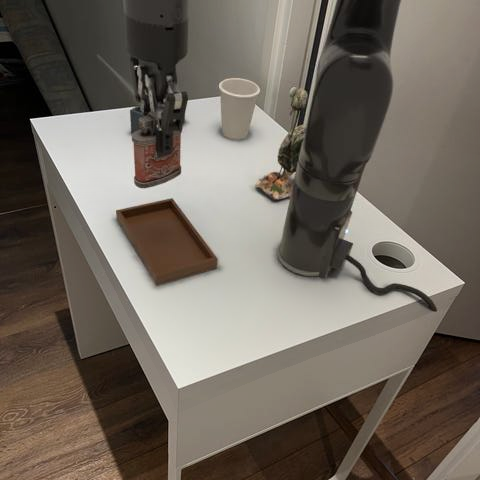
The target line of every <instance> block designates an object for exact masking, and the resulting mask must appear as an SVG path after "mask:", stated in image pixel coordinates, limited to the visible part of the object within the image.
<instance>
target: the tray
mask: <svg viewBox="0 0 480 480" xmlns="http://www.w3.org/2000/svg"><path fill="white" fill-rule="evenodd" d="M115 217H116V218H115V219H116V221H117V223H118V225H119V226H120V228H121V230H122V231H123V233H124V234H125V236H126V238H127V240H128V242H129V243H130V245H131V246H132V248H133V250H134V251H135V253H136V254H137V256H138V257H139V260H140V261H141V263H142V264H143V266H144V267H145V269H146V271H147V272H148V274H149V277H150V278H151V279H152V281H153V282H154V284H155V285H156V286H160V285H161V286H162V285H164V284H168V283H170V282H174V281H177V280H181V279H185V278H188V277H191V276H194V275H195V276H196V275H198V274H199V275H200V274H202V273H206V272H208V271H212V270H215V269H217V268H218V257H217V256H216V254H215V253H214V251H212V249H211V248H210V247H209V245H208V243H207V242H206V241H205V240H204V239H203V237H202V236H201V234H200V233H199V231H198V230H197V229H196V228H195V227H194V225H193V223H192V222H191V221H190V220H189V218H188V217H187V216H186V214H185V213H184V211H183V210H182V209H181V207H180V206H179V205H178V203H177V202H176V201H175V199H174V198H173V197H171V198H167V199H161V200H157V201H152V202H148V203H143V204H138V205H133V206H129V207H124V208H119V209H116V210H115Z"/></svg>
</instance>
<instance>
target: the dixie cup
mask: <svg viewBox="0 0 480 480" xmlns="http://www.w3.org/2000/svg"><path fill="white" fill-rule="evenodd" d="M218 88H219V94H220V95H219V96H220V118H221V120H220V121H221V122H220V123H221V134H222V136H224V137H225V138H227V139H229V140H237V141H238V140H240V141H241V140H244V139H246V138H247V137H248V135H249V132H250V127H251V123H252V119H253V116H254V113H255V112H254V111H255V108H256V104H257V100H258V95H259V94H260V92H261V90H260V87H259V86H258V84H256V83H255V82H254V81H251V80H249V79H246V78H239V77H238V78H237V77H232V78H226V79H224V80H222V81H221V82H219V85H218Z"/></svg>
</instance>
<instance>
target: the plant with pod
mask: <svg viewBox="0 0 480 480" xmlns="http://www.w3.org/2000/svg"><path fill="white" fill-rule="evenodd" d="M307 101H308V92H307V91H306V90H305V89H303V87H300V88H296V89H295V91H294V92H293V94H292V98H291V102H290V106H291V110H290V113H289V116H290V117H291V116H292V115H293V113H294V112H296V115H295V120H294V123H293V127H292V128H291V130H290V131H289V132H288V133H287V134H286V136H285V137H284V139H283V141H282V142H281V144H280V145H279V148H278V151H277V152H278V153H277V163H278V165H279V166H281V167H280V170H279V172H278V171H271V172H270V173H268V174H266V175H263V177H262V178H259V179H258V181H257V183H256V184H255V185H254V187H255V188H256V189H261V191H262V192H264V193H265V195H267V196H269V198H270V199H271V200H275V201H277V200H281V199H282V200H283V199H285V198H288V197H290V196H291V191H292V187H293V182H294V180H293V181H292V180H290V177H291V176H293V175H294V174H295V173H296V168H297V163H298V159H299V154H300V149H301V145H302V142H303V139H304V135H305V131H306V126H307V124H300V125H298V126H297V123H298V120H299V116H300V112H302V111H304V109H305V108H306V105H307ZM282 170H283V171H282ZM281 172H282V173H281Z"/></svg>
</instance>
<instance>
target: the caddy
mask: <svg viewBox="0 0 480 480" xmlns="http://www.w3.org/2000/svg"><path fill="white" fill-rule="evenodd" d="M161 104H165V102H160V105H161ZM142 117H143V113H142V111H141V109H140V103H139V104H138V105H136V106H134V107H133V108H131V109H129V121H130V133H131V135H132V133H133V132H135V131H137V130H139V129H140V126H139V118H142ZM185 122H186V115H185V116H184V121H183V124H184V123H185Z"/></svg>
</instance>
